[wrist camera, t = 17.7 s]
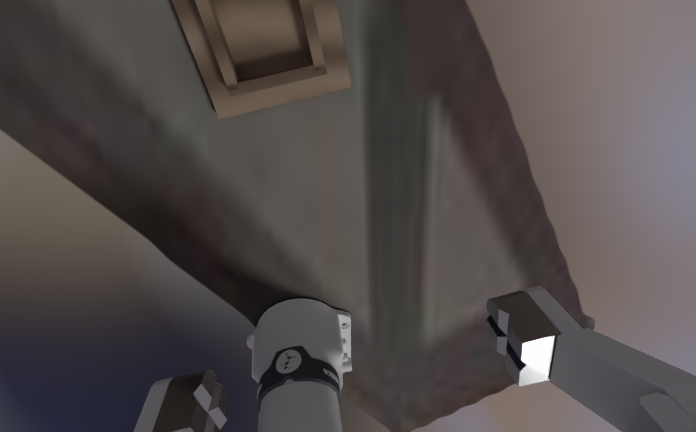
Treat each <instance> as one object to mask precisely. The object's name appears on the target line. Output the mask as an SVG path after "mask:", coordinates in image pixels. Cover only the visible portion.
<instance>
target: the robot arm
mask: <svg viewBox="0 0 696 432" xmlns="http://www.w3.org/2000/svg"><path fill="white" fill-rule="evenodd" d="M487 310H488V311H489V313H490V315H489V317H488V318H487V330H488V334H489V337H490V339H491V341H492V344H493V345H494V347H495V349H496V350H497V352H499V353H501V354H502V355H504V356H506V363H505V365H506V367H507V369H508V370H509V372H510V373H511V375H512V377H513V378H514V380H515V381H516V383H517V385H518V386H523V385H527V384H532V383H537V382H541V381H545V380H550V382H551V383H552V384H554V385H555V386H557V387H558V388H560V389H561V390H563V391H564V392H565V393H567V394H568V395H570V396H571V397H573V398H574V399H576V400H577V401H578V402H580V403H581V404H583V405H584V406H586V407H587V408H589V409H590V410H592V411H593V412H594V413H596V414H597V415H599V416H600V417H602V418H603V419H605V420H606V421H607V422H609V423H610V424H612V425H613V426H615V427H616V428H618V429H619V430H620V431H622V432H696V376H695V375H692V374H690V373H688V372H685V371H683V370H681V369H679V368H677V367H674V366H672V365H670V364H668V363H665V362H663V361H661V360H658V359H656V358H654V357H652V356H650V355H647V354H645V353H643V352H641V351H638V350H636V349H634V348H631V347H629V346H627V345H625V344H623V343H620V342H618V341H616V340H614V339H611V338H609V337H607V336H604V335H602V334H600V333H598V332H596V331H593V330H591V329H589V328H587V329H582V328H581V327H580V326H579V325H578V324H577V323H576V322H575V321H574V320H573V319H572V318H571V316H570V315H569V314H568V313H567V312H566V311H565V310H564V309H563V308H562V307H561V306H560V305H559V304H558V303H557V302H556V300H555V299H554V298H553V297H552V296H551V295H550V294H549V293H548V292H547V291H546V290H545V289H544V288H543V287H541V286H538V287H534V288H530V289H526V290H523V291H517V292H513V293H510V294H506V295H502V296H498V297H494V298H491V299H488V301H487ZM246 344H247V345H248V347H249V348H250V349H251V350H252V351H253V359H252V377H253V379H255V380H256V382H257V383H258V384H259V389H258V393H257V401H258V405H257V407H258V411H259V413H260V416H259V428H258V432H343V431H342V426H341V420H340V412H339V404H340V396H341V388H342V386H343V375H342V373H344V372H348V371H351V370H352V366H351V315H350V314H349V313H348V312H345V311H341V310H335V309H333V308H331V307H329V306H328V305H326V304H324V303H322V302H319V301H316V300H312V299H291V300H286V301H283V302H280V303H278V304H276V305H274V306H272V307H270V308H269V309H268V310H267V311H265V312H264V314H263V315H262V316H261V317H260V319H259V321H258V324H257V327H256V328H255V330H253V331H252V332H251V333H250V334H249V335H248V337H247V338H246ZM215 380H216V375H215V374H214V373H213V372H212V370H205V371H201V372H197V373H192V374H187V375H183V376H179V377H174V378H170V379H166V380H162V381H157V382H155V384H154V385H153V386H152V387H151V389H150V392H149V394H148V397H147V399H146V402H145V404H144V407H143V409H142V412H141V414H140V417H139V419H138V422H137V425H136V427H135V430H134V432H221V430H220V429H221V427H222V426H223V425H224V423H225V422H226V420H227V416H228V409H229V407H228V396H227V394H226V390H225V389H224V387H223V386H222V385H220V384H217V383H215Z"/></svg>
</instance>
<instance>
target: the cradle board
mask: <svg viewBox="0 0 696 432" xmlns="http://www.w3.org/2000/svg"><path fill="white" fill-rule="evenodd" d="M172 3H173V5H174V8H175V10H176V13H177V15H178V18H179V20H180V23H181V25H182V27H183V30H184V32H185V35H186V37H187V40H188V42H189V45H190V47H191V50H192V52H193V55H194V57H195V60H196V62H197V65H198V67H199V70H200V72H201V75H202V77H203V80H204V82H205V85H206V87H207V90H208V92H209V95H210V97H211V100H212V102H213V105H214V107H215V110H216V112H217V115H218V117H219V119H223V118H227V117H231V116H236V115H240V114H244V113H248V112H252V111H256V110H261V109H265V108H269V107H273V106H277V105H282V104H286V103H290V102H294V101H298V100H303V99H307V98H311V97H315V96H319V95H323V94H328V93H332V92H336V91H340V90H344V89H349V88H352V85H351V79H350V74H349V69H348V63H347V58H346V52H345V47H344V41H343V36H342V31H341V25H340V20H339V14H338V9H337V3H336V0H172Z"/></svg>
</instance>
